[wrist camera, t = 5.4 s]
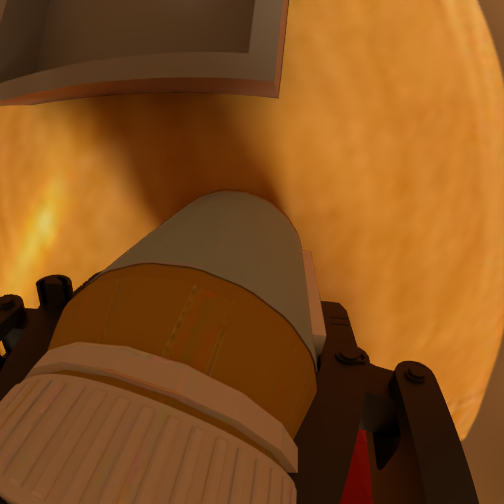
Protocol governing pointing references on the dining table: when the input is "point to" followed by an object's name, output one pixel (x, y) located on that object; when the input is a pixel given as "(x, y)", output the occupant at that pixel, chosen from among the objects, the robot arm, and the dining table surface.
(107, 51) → the crate
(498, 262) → the dining table surface
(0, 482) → the bottle
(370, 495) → the plastic cup
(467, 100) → the dining table surface
